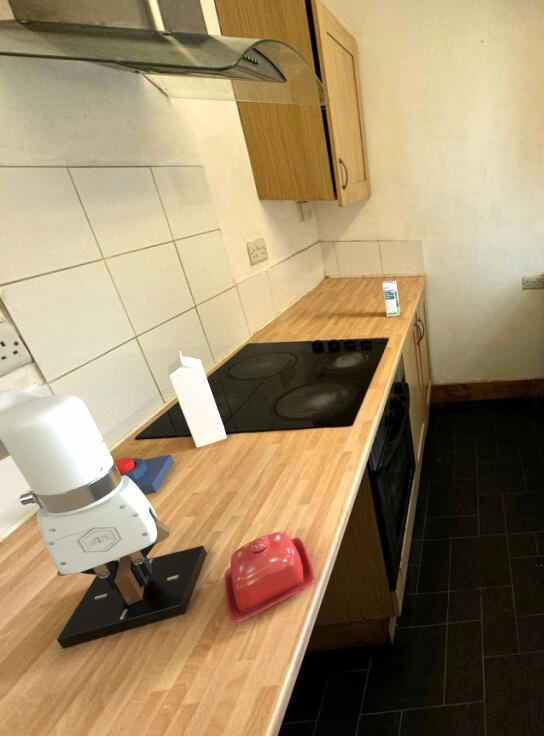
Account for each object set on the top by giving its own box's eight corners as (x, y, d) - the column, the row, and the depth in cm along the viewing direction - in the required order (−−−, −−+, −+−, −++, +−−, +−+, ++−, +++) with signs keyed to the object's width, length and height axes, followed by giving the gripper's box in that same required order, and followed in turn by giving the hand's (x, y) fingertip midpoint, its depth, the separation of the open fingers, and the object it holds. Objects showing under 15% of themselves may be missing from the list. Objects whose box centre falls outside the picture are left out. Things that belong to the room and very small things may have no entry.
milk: (196, 448, 96) (162, 363, 87) (195, 436, 101) (161, 353, 92) (227, 438, 100) (197, 355, 91) (224, 427, 104) (195, 346, 95)
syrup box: (386, 316, 180) (381, 284, 174) (386, 312, 185) (382, 280, 179) (400, 315, 181) (395, 283, 175) (400, 311, 187) (396, 279, 181)
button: (108, 477, 82) (105, 470, 81) (117, 466, 85) (114, 459, 84) (130, 473, 83) (127, 466, 82) (138, 462, 86) (135, 455, 86)
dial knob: (142, 599, 60) (128, 574, 58) (128, 605, 59) (113, 580, 57) (146, 569, 65) (134, 545, 63) (133, 574, 64) (120, 550, 62)
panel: (62, 649, 56) (55, 639, 55) (104, 579, 65) (98, 570, 65) (185, 614, 60) (180, 604, 59) (207, 553, 70) (203, 544, 69)
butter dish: (302, 539, 72) (291, 501, 69) (319, 588, 64) (307, 548, 60) (225, 574, 66) (208, 535, 63) (232, 634, 58) (213, 592, 54)
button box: (80, 508, 79) (71, 492, 78) (107, 475, 88) (99, 460, 86) (156, 492, 83) (148, 476, 81) (174, 462, 92) (168, 447, 90)
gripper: (-20, 532, 47) (54, 635, 55) (155, 478, 55) (199, 574, 63) (4, 494, 53) (69, 591, 60) (159, 450, 61) (199, 541, 68)
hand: (135, 582), depth 62 cm, fingers closed on dial knob
